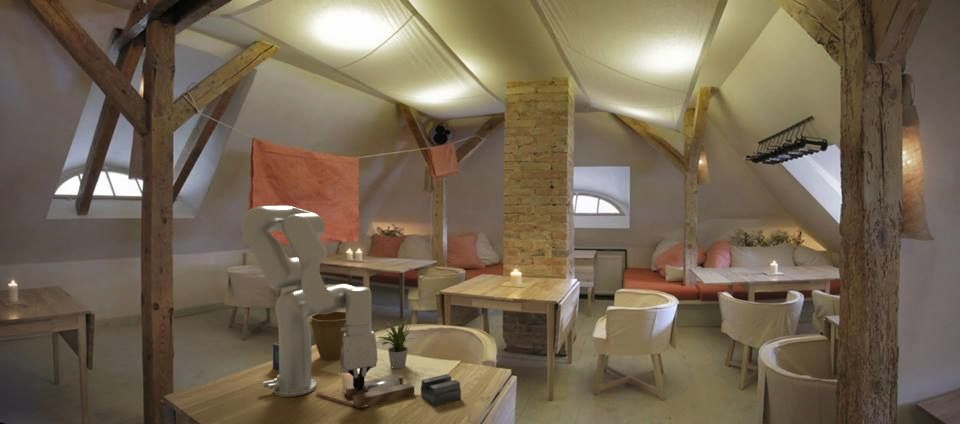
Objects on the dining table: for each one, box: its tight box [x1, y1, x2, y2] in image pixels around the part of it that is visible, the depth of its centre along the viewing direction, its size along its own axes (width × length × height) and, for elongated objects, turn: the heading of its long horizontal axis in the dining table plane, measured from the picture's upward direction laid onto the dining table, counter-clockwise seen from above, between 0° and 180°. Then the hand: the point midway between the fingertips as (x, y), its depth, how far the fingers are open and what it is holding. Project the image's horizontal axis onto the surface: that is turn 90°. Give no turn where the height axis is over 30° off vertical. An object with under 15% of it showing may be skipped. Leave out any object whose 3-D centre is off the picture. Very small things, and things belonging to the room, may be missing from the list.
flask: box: [272, 341, 279, 372], centre depth 163 cm, size 9×3×11 cm, turn 68°
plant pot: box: [310, 311, 346, 361], centre depth 176 cm, size 15×15×16 cm
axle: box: [365, 378, 400, 393], centre depth 143 cm, size 10×4×4 cm, turn 123°
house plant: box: [377, 320, 416, 369], centre depth 168 cm, size 14×14×16 cm
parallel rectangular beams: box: [345, 373, 415, 410], centre depth 143 cm, size 18×12×3 cm, turn 123°
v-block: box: [420, 373, 462, 407], centre depth 141 cm, size 9×9×5 cm
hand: (358, 388), depth 139 cm, fingers closed
